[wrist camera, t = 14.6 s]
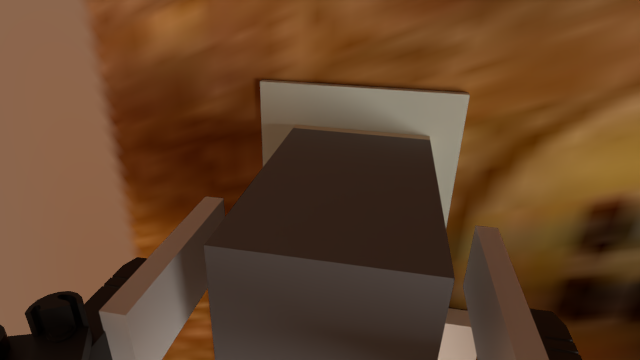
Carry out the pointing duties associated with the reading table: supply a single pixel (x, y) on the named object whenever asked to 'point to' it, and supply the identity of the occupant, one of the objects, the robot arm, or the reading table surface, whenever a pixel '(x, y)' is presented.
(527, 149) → the reading table surface
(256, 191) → the block
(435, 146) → the pad
